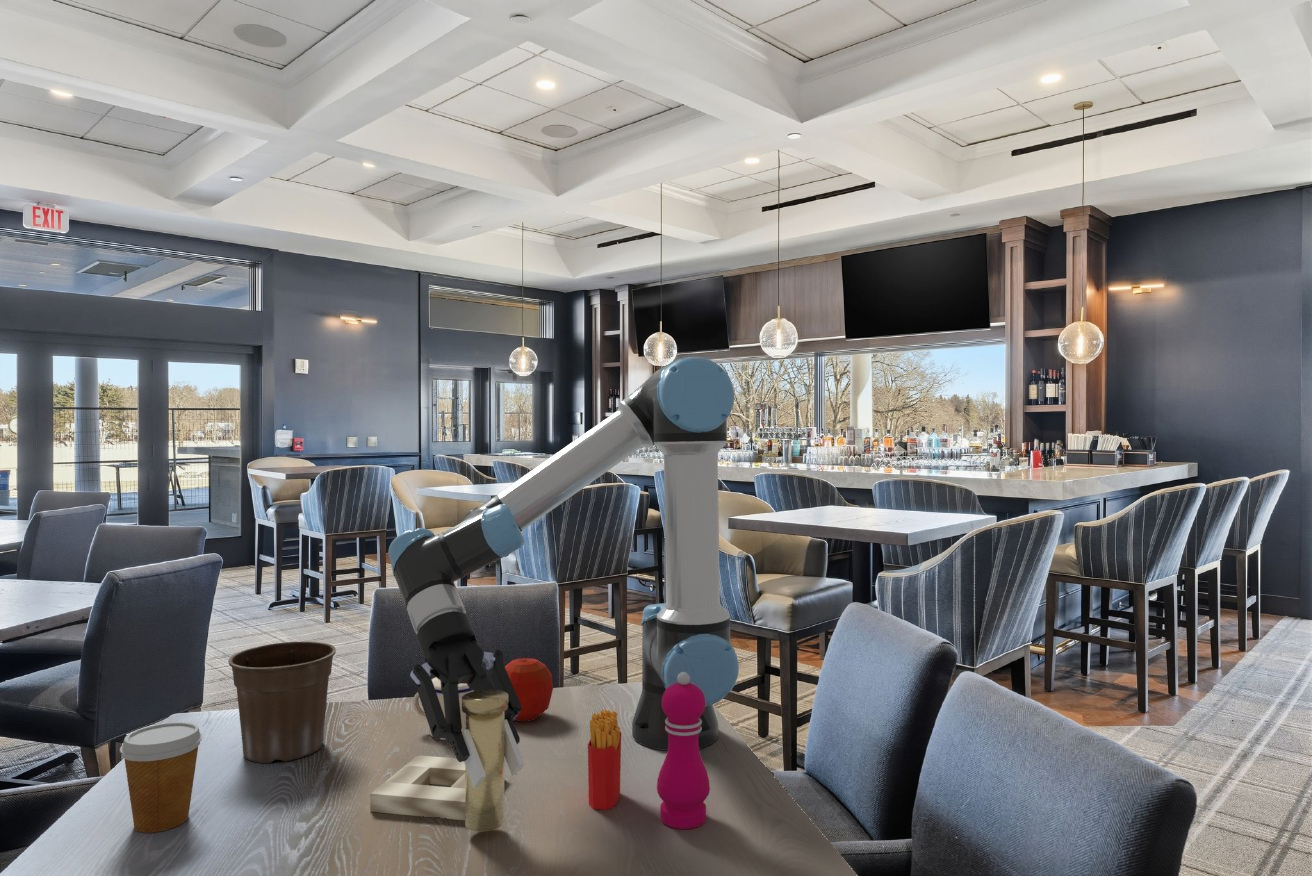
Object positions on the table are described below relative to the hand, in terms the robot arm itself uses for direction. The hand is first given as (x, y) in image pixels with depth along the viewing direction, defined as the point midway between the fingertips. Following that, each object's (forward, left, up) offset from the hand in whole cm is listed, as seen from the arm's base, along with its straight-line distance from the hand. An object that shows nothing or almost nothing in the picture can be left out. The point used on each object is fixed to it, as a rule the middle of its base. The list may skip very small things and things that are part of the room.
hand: (499, 775), depth 104 cm
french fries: (-10, -15, -9) cm, 20 cm away
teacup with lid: (+24, -36, -9) cm, 44 cm away
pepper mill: (-22, -11, -9) cm, 26 cm away
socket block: (+14, -12, -9) cm, 21 cm away
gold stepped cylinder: (+3, -2, -7) cm, 8 cm away
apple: (+13, -46, -9) cm, 49 cm away
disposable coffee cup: (+47, +3, -9) cm, 48 cm away
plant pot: (+47, -23, -9) cm, 53 cm away
